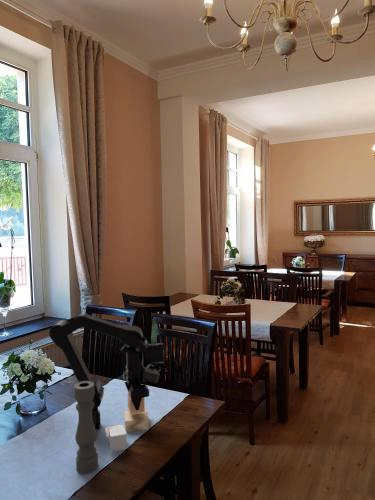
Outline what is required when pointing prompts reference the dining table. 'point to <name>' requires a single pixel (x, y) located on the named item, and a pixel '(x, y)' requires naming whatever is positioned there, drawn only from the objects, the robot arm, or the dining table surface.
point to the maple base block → (136, 421)
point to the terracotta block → (132, 408)
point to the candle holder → (85, 428)
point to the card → (109, 428)
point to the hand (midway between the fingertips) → (136, 406)
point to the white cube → (117, 438)
